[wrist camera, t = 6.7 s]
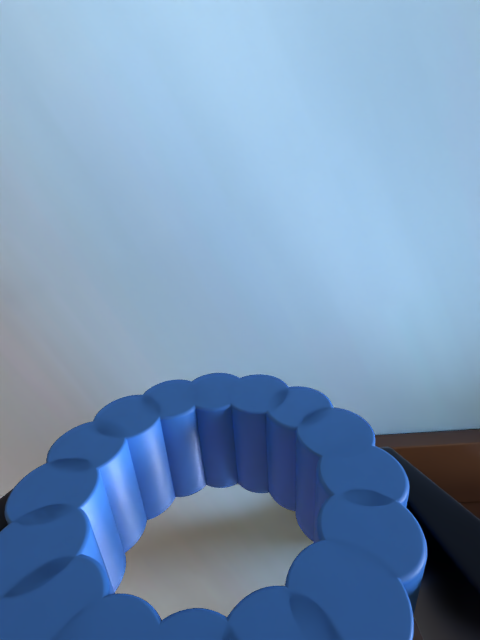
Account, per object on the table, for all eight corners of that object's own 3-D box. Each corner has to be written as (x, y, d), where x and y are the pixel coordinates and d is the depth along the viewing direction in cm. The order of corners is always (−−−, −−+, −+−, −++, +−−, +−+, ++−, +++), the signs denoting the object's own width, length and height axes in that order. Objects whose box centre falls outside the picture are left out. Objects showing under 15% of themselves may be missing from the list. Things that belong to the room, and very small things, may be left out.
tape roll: (343, 437, 11) (509, 872, 4) (106, 451, 11) (-90, 893, 4) (348, 363, 10) (583, 793, 3) (86, 379, 10) (-215, 823, 3)
